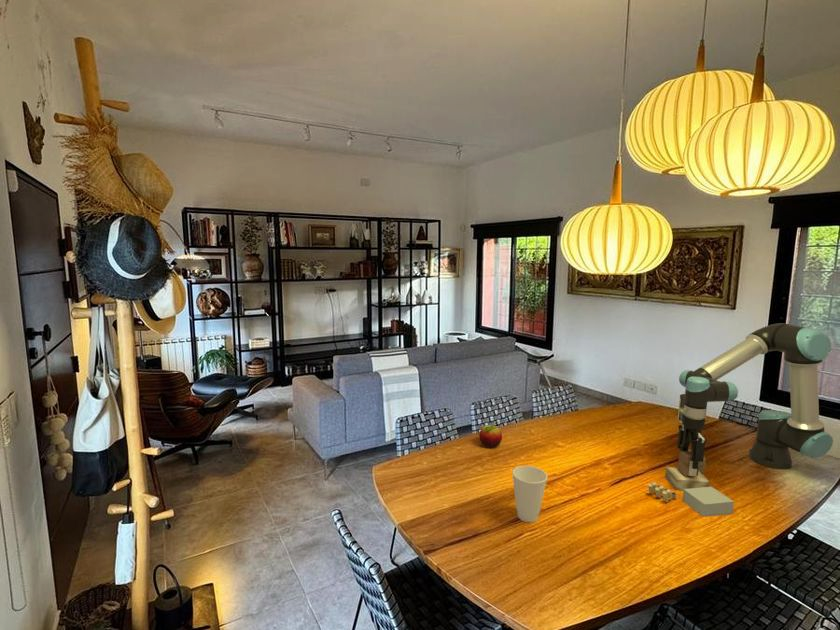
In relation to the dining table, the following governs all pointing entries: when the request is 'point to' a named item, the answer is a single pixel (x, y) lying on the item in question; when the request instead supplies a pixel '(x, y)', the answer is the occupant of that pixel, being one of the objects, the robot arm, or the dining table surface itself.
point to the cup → (528, 491)
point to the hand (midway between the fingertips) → (687, 471)
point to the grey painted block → (707, 501)
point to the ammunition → (661, 491)
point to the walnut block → (685, 462)
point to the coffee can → (681, 407)
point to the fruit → (490, 436)
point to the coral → (701, 464)
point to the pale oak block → (685, 479)
